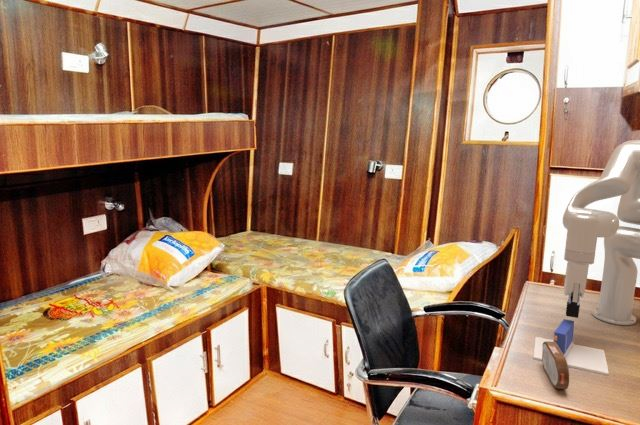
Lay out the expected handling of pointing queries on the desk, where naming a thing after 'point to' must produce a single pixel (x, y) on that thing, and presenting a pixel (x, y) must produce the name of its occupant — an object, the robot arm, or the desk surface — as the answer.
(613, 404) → the desk surface
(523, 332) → the desk surface
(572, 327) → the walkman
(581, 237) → the robot arm
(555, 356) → the tin
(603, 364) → the mat
